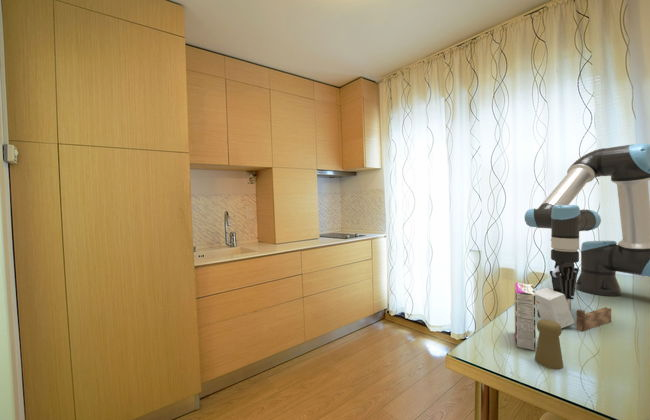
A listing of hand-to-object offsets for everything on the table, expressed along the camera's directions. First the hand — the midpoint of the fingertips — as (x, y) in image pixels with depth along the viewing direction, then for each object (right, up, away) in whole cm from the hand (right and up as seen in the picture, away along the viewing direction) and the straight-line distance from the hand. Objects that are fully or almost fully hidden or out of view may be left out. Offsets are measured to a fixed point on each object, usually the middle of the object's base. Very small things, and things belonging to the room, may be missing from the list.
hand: (563, 317), depth 102 cm
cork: (-24, -3, -25) cm, 35 cm away
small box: (-4, -1, -2) cm, 4 cm away
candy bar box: (-23, -3, -13) cm, 26 cm away
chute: (+5, -2, +2) cm, 6 cm away
